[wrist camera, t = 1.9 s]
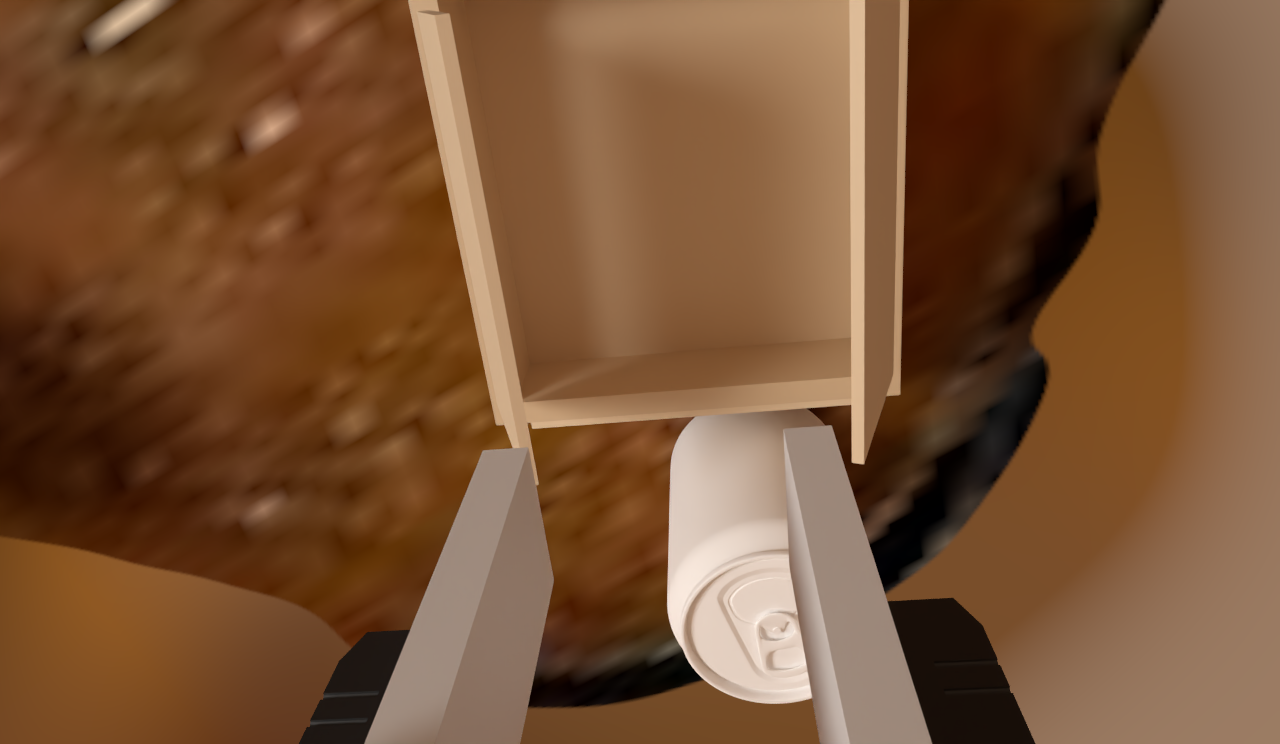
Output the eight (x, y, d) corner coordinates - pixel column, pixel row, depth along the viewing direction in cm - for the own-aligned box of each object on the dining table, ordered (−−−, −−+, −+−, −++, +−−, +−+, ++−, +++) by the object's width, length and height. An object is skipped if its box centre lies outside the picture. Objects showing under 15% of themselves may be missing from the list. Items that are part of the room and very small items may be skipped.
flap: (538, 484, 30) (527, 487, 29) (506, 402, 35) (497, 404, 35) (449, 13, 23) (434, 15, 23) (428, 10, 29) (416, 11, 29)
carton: (433, -47, 33) (398, -48, 29) (885, -104, 32) (914, -113, 28) (516, 385, 41) (497, 432, 37) (880, 356, 40) (902, 402, 36)
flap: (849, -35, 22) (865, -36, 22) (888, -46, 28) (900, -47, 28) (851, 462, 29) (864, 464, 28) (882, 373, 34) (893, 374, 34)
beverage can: (814, 368, 40) (863, 520, 29) (852, 507, 43) (908, 689, 33) (649, 412, 42) (637, 573, 31) (697, 544, 45) (702, 730, 34)
